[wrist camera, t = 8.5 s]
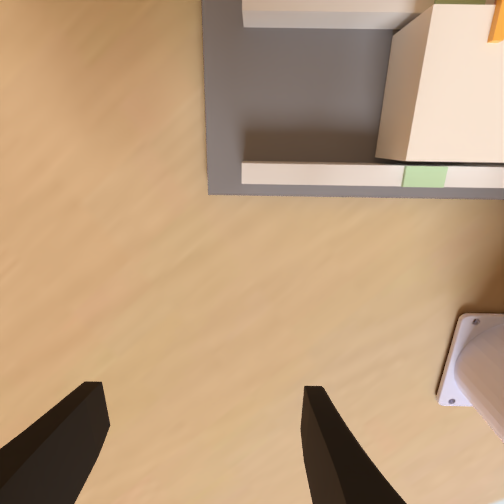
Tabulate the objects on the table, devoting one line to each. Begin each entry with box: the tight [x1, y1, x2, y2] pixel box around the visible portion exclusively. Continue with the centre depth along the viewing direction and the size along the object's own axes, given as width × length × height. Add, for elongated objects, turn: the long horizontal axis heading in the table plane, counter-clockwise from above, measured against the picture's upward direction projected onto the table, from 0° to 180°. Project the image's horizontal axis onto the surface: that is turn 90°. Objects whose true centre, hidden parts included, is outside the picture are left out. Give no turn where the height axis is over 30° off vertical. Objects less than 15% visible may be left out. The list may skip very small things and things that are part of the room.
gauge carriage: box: [375, 0, 504, 163], centre depth 14 cm, size 8×7×4 cm
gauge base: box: [202, 0, 504, 200], centre depth 14 cm, size 22×10×5 cm, turn 89°
